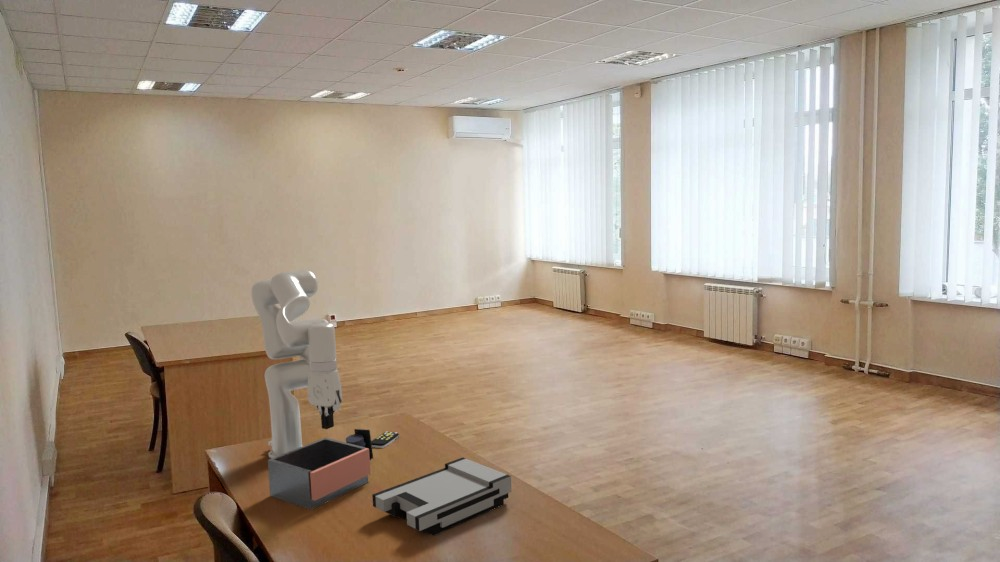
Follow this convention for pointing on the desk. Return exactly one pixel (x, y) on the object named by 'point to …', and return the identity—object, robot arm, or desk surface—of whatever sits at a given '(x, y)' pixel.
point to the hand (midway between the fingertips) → (327, 427)
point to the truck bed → (308, 471)
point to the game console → (446, 496)
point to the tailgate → (339, 473)
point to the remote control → (384, 439)
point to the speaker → (361, 439)
